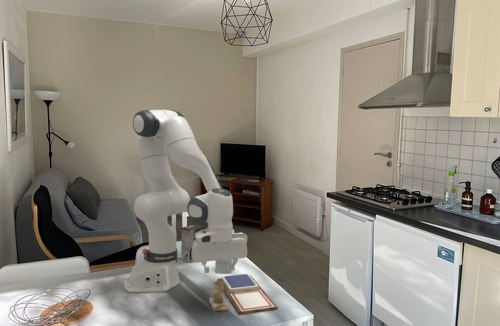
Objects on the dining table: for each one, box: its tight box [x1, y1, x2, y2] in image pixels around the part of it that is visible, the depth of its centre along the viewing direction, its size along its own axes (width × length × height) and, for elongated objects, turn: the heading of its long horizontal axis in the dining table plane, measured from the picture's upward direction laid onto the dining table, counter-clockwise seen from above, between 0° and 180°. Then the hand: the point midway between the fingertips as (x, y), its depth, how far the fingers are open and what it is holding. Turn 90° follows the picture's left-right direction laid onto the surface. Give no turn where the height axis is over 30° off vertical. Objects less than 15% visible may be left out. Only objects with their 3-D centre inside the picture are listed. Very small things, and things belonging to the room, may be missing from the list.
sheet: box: [231, 290, 274, 311], centre depth 145 cm, size 13×14×1 cm
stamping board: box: [216, 274, 279, 316], centre depth 152 cm, size 15×30×1 cm, turn 19°
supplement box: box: [214, 259, 233, 274], centre depth 175 cm, size 7×7×13 cm
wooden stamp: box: [208, 280, 228, 314], centre depth 141 cm, size 5×7×9 cm
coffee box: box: [180, 223, 204, 263], centre depth 188 cm, size 9×6×16 cm
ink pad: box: [220, 273, 260, 292], centre depth 159 cm, size 12×13×2 cm
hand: (219, 271), depth 140 cm, fingers open, 8 cm apart
